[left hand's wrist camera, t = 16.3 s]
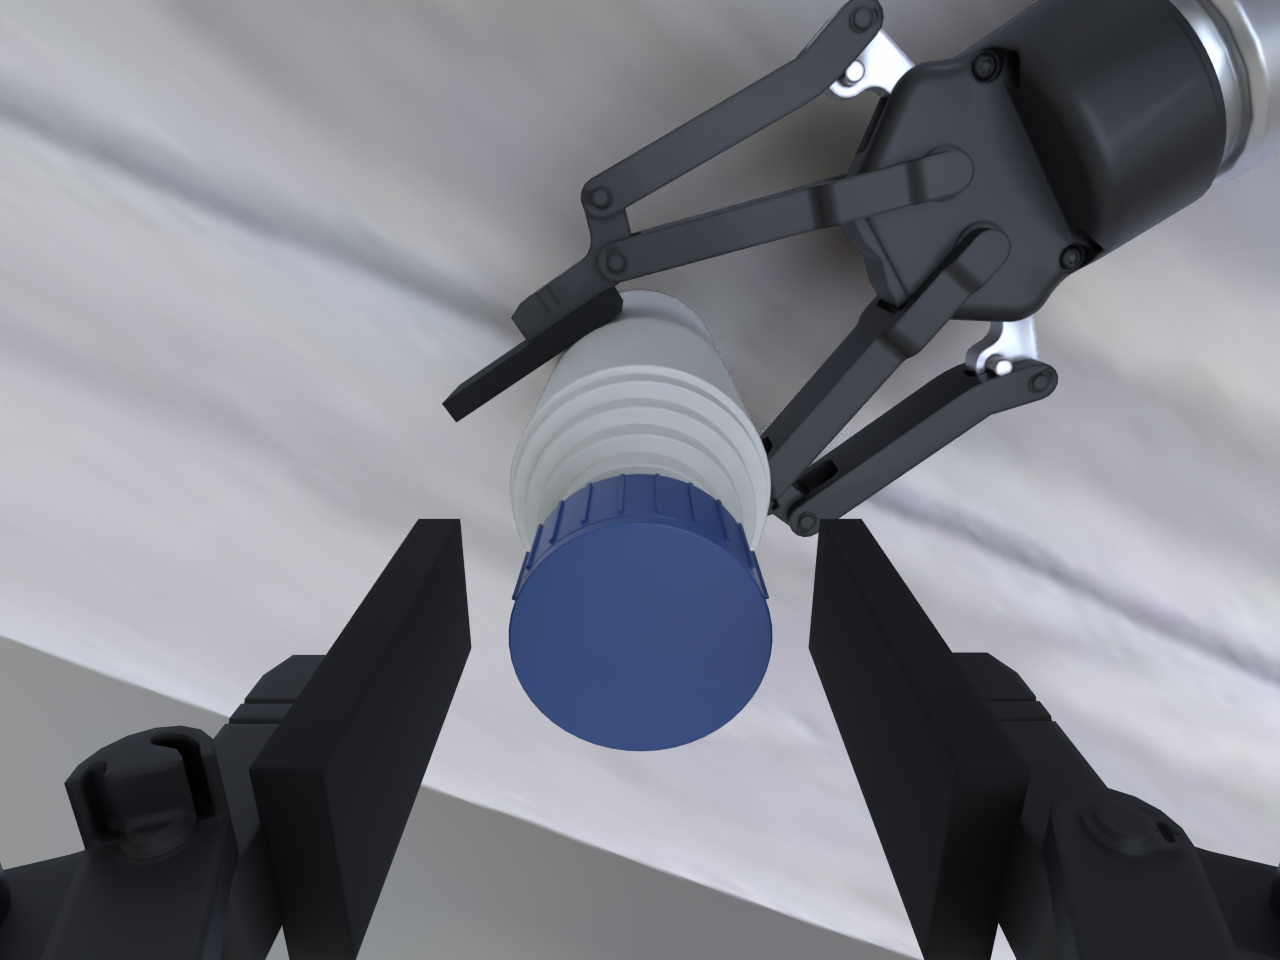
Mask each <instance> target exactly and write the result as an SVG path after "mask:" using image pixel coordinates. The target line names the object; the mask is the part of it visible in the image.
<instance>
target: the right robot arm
mask: <svg viewBox="0 0 1280 960" xmlns="http://www.w3.org/2000/svg"><path fill="white" fill-rule="evenodd" d="M883 19H884V16H883V9H882V7H881V5H880V3H879V1H878V0H850V1H848V2H847V3H846V4H845V5H844V6H843V7H842V8H841V9H840V10H838V11H837V12H836V13H835V14H834V15H833V16H832V17H831V18H830V19H829V20H828V21H827V22H826V23H825V24H824V25H823V26H822V28H821V29H820V30H819V31H818V32H817V34H816V35H815V36H814V37H813V38H812V39H811V41H810V42H809V43H808V44H807V45H806V46H805V48H804V49H803V50H802V51H801V52H800V54H799V55H798V56H797V57H796V58H795V59H794V60H792V61H790V62H789V63H787V64H785V65H784V66H782V67H780V68H779V69H777V70H775V71H773V72H772V73H770V74H768V75H767V76H765V77H763V78H762V79H760V80H758V81H756V82H755V83H753V84H751V85H750V86H748V87H746V88H745V89H743V90H741V91H739V92H738V93H736V94H734V95H733V96H731V97H729V98H728V99H726V100H724V101H722V102H721V103H719V104H717V105H716V106H714V107H712V108H710V109H709V110H707V111H705V112H704V113H702V114H700V115H699V116H697V117H695V118H693V119H692V120H690V121H688V122H687V123H685V124H683V125H682V126H680V127H678V128H676V129H675V130H673V131H671V132H670V133H668V134H666V135H665V136H663V137H661V138H659V139H658V140H656V141H654V142H653V143H651V144H649V145H648V146H646V147H644V148H642V149H641V150H639V151H637V152H636V153H634V154H632V155H630V156H629V157H627V158H625V159H624V160H622V161H620V162H619V163H617V164H615V165H613V166H612V167H610V168H608V169H607V170H605V171H603V172H602V173H600V174H598V175H596V176H595V177H593V178H591V179H590V180H589V181H588V182H587V183H586V184H585V185H584V187H583V189H582V191H581V202H582V205H583V208H584V210H585V214H586V218H587V222H588V227H589V231H590V235H591V246H590V249H589V252H588V254H587V255H586V257H584V258H583V259H582V260H581V261H579V262H578V263H576V264H575V265H573V266H572V267H570V268H569V269H568V270H566V271H565V272H563V273H562V274H560V275H559V276H557V277H556V278H555V279H553V280H552V281H550V282H549V283H547V284H546V285H545V286H543V287H542V288H540V289H539V290H537V291H536V292H534V293H533V294H532V295H530V296H529V297H527V298H526V299H525V300H524V301H523V302H522V303H520V305H519V306H518V308H517V310H516V311H515V313H514V314H513V316H512V317H511V318H512V320H513V321H514V323H515V324H516V325H517V327H518V328H519V330H520V331H521V333H522V334H523V335H524V337H525V338H526V340H525V341H523V342H522V343H520V344H519V345H517V346H516V347H514V348H513V349H512V350H510V351H509V352H507V353H506V354H504V355H503V356H501V357H500V358H498V359H497V360H495V361H494V362H492V363H491V364H490V365H488V366H487V367H485V368H484V369H482V370H481V371H479V372H478V373H476V374H475V375H473V376H472V377H470V378H469V379H468V380H466V381H465V382H463V383H462V384H460V385H459V386H458V387H457V388H456V389H455V391H454V392H453V393H452V394H451V395H450V396H449V397H448V398H447V399H446V400H445V401H444V402H443V403H442V404H443V406H444V407H445V408H446V410H447V411H448V412H449V413H450V415H451V416H452V417H453V419H454V420H455V421H456V422H458V421H459V420H461V419H462V418H464V417H465V416H467V415H468V414H470V413H471V412H473V411H474V410H476V409H477V408H479V407H480V406H482V405H483V404H485V403H486V402H488V401H489V400H491V399H492V398H494V397H495V396H497V395H498V394H500V393H501V392H502V391H504V390H505V389H507V388H508V387H510V386H511V385H513V384H514V383H516V382H517V381H519V380H520V379H522V378H523V377H525V376H526V375H528V374H529V373H531V372H532V371H534V370H535V369H537V368H538V367H540V366H541V365H543V364H544V363H546V362H547V361H549V360H550V359H552V358H553V357H555V356H556V355H558V354H559V353H561V352H562V351H564V350H565V349H567V348H568V347H570V346H571V345H573V344H574V343H576V342H577V341H578V340H580V339H581V338H583V337H584V336H586V335H587V334H589V333H590V332H592V331H593V330H595V329H596V328H598V327H599V326H601V325H602V324H604V323H605V322H607V321H608V320H610V319H611V318H613V317H614V316H616V315H617V314H619V313H620V312H622V307H623V299H622V297H621V296H620V294H619V293H618V291H617V289H616V288H615V286H616V285H617V284H619V283H620V282H623V281H627V280H631V279H634V278H638V277H642V276H645V275H649V274H653V273H657V272H660V271H664V270H668V269H671V268H675V267H679V266H682V265H686V264H690V263H694V262H697V261H701V260H705V259H708V258H712V257H716V256H720V255H723V254H727V253H731V252H734V251H738V250H742V249H745V248H749V247H753V246H757V245H760V244H764V243H768V242H771V241H775V240H779V239H782V238H786V237H790V236H794V235H797V234H801V233H805V232H808V231H812V230H816V229H821V228H827V227H832V226H837V225H840V227H841V229H842V231H843V232H844V234H845V236H846V238H847V240H848V241H849V242H850V243H851V244H852V245H853V246H854V247H855V248H856V249H857V250H858V251H859V252H860V253H861V254H862V255H863V256H864V258H865V263H866V267H867V272H868V276H869V280H870V282H871V284H872V286H873V288H874V290H875V291H876V293H877V296H876V297H875V298H874V300H873V301H872V302H871V303H870V304H869V305H868V307H867V308H866V309H865V310H864V311H863V313H862V314H861V316H860V318H859V322H858V324H857V326H856V327H855V328H854V329H853V330H852V332H851V333H850V334H849V335H848V336H847V337H846V338H845V340H844V341H843V342H842V343H841V344H840V345H839V347H838V348H837V349H836V350H835V351H834V352H833V353H832V355H831V356H830V357H829V358H828V359H827V360H826V361H825V363H824V364H823V365H822V366H821V367H820V368H819V370H818V371H817V372H816V373H815V374H814V375H813V376H812V378H811V379H810V380H809V381H808V382H807V383H806V385H805V386H804V387H803V388H802V389H801V390H800V391H799V393H798V394H797V395H796V396H795V397H794V398H793V399H792V401H791V402H790V403H789V404H788V405H787V406H786V408H785V409H784V410H783V411H782V412H781V413H780V414H779V416H778V417H777V418H776V419H775V420H774V421H773V423H772V424H771V425H770V426H769V427H768V428H767V429H766V431H765V432H764V433H763V434H762V435H761V436H760V438H761V441H762V444H763V446H764V449H765V452H766V455H767V459H768V464H769V468H770V480H771V492H770V503H769V508H768V513H767V515H772V514H774V515H775V516H777V517H778V518H779V519H781V520H782V521H783V522H785V523H786V524H788V525H789V526H790V527H791V529H792V531H793V532H794V533H795V534H796V535H799V536H802V537H809V536H812V535H814V534H817V533H818V532H819V523H820V519H839V518H840V517H842V516H843V515H845V514H846V513H847V512H849V511H850V510H852V509H853V508H855V507H856V506H858V505H859V504H861V503H862V502H864V501H865V500H867V499H868V498H869V497H871V496H872V495H874V494H875V493H877V492H878V491H880V490H881V489H883V488H884V487H886V486H887V485H889V484H890V483H891V482H893V481H894V480H896V479H897V478H899V477H900V476H902V475H903V474H905V473H906V472H908V471H909V470H911V469H912V468H913V467H915V466H916V465H918V464H919V463H921V462H922V461H924V460H925V459H927V458H928V457H930V456H931V455H933V454H934V453H936V452H937V451H938V450H940V449H941V448H943V447H944V446H946V445H947V444H949V443H950V442H952V441H953V440H955V439H956V438H958V437H959V436H960V435H962V434H963V433H965V432H966V431H968V430H969V429H971V428H972V427H974V426H975V425H977V424H978V423H980V422H981V421H982V420H984V419H985V418H987V417H988V416H990V415H992V414H995V413H999V412H1002V411H1005V410H1008V409H1012V408H1015V407H1018V406H1021V405H1025V404H1028V403H1031V402H1035V401H1038V400H1041V399H1043V398H1045V397H1047V396H1049V395H1050V394H1051V393H1052V392H1053V391H1054V390H1055V388H1056V386H1057V383H1058V375H1057V372H1056V370H1055V369H1054V368H1053V367H1052V366H1050V365H1048V364H1046V363H1043V362H1041V361H1040V357H1039V350H1038V344H1037V337H1036V331H1035V324H1034V318H1033V314H1034V313H1036V312H1037V311H1038V310H1039V309H1040V308H1041V307H1042V306H1043V305H1044V304H1045V302H1046V301H1047V299H1048V298H1049V296H1050V295H1051V293H1052V292H1053V291H1054V289H1055V288H1056V287H1057V286H1058V285H1059V284H1060V283H1061V282H1062V281H1063V280H1064V279H1065V278H1066V277H1067V276H1069V275H1070V274H1072V273H1073V272H1075V271H1077V270H1079V269H1081V268H1083V267H1085V266H1087V265H1089V264H1091V263H1092V262H1094V261H1096V260H1098V259H1100V258H1102V257H1103V256H1105V255H1107V254H1108V253H1110V252H1112V251H1113V250H1115V249H1117V248H1118V247H1120V246H1122V245H1123V244H1125V243H1127V242H1128V241H1130V240H1132V239H1133V238H1135V237H1137V236H1138V235H1140V234H1142V233H1143V232H1145V231H1147V230H1148V229H1150V228H1151V227H1153V226H1155V225H1156V224H1158V223H1160V222H1161V221H1163V220H1165V219H1166V218H1168V217H1170V216H1171V215H1173V214H1175V213H1176V212H1178V211H1180V210H1181V209H1183V208H1185V207H1186V206H1188V205H1190V204H1191V203H1193V202H1195V201H1196V200H1197V199H1199V198H1200V197H1201V196H1203V195H1204V193H1205V192H1206V191H1207V190H1208V189H1209V187H1210V186H1211V184H1220V183H1223V182H1226V181H1229V180H1232V179H1234V178H1236V177H1238V176H1239V175H1241V174H1242V173H1244V172H1246V171H1247V170H1249V169H1251V168H1252V167H1254V166H1255V165H1257V164H1259V163H1260V162H1262V161H1263V160H1265V159H1267V158H1268V157H1270V156H1272V155H1273V154H1275V153H1276V152H1278V151H1280V0H1039V1H1037V2H1036V3H1034V4H1033V5H1031V6H1030V7H1029V8H1027V9H1026V10H1024V11H1023V12H1021V13H1020V14H1018V15H1017V16H1015V17H1014V18H1012V19H1011V20H1009V21H1008V22H1006V23H1005V24H1003V25H1002V26H1001V27H999V28H998V29H996V30H995V31H993V32H992V33H990V34H989V35H987V36H986V37H984V38H983V39H981V40H980V41H978V42H977V43H976V44H974V45H973V46H971V47H970V48H968V49H967V50H965V51H964V52H962V53H961V54H959V55H957V56H956V57H954V58H952V59H948V60H943V61H930V62H925V63H921V64H918V65H916V66H915V65H914V64H913V63H912V62H911V60H910V59H909V58H908V57H907V56H906V55H905V54H904V53H903V51H902V50H901V49H900V48H899V47H898V46H897V45H896V44H895V43H894V41H893V40H892V39H891V38H890V37H889V36H888V35H887V34H886V32H885V31H884V30H883V29H882V23H883ZM863 90H870V91H873V92H876V93H877V94H878V95H879V96H881V98H880V100H879V103H878V105H877V107H876V109H875V112H874V114H873V116H872V119H871V121H870V123H869V125H868V128H867V130H866V132H865V135H864V137H863V139H862V141H861V144H860V146H859V148H858V151H857V153H856V155H855V157H854V160H853V162H852V164H851V167H850V169H849V171H848V173H847V174H843V175H839V176H836V177H832V178H829V179H825V180H821V181H818V182H814V183H810V184H807V185H804V186H800V187H798V188H795V189H791V190H787V191H784V192H780V193H777V194H773V195H769V196H766V197H762V198H758V199H755V200H751V201H748V202H744V203H740V204H737V205H733V206H729V207H726V208H722V209H718V210H715V211H711V212H708V213H704V214H700V215H697V216H693V217H689V218H686V219H682V220H679V221H675V222H671V223H668V224H664V225H660V226H657V227H653V228H649V229H646V230H642V231H639V232H635V233H631V230H630V226H629V221H628V217H627V213H626V207H628V206H630V205H632V204H633V203H635V202H637V201H639V200H640V199H642V198H644V197H646V196H647V195H649V194H651V193H653V192H654V191H656V190H658V189H659V188H661V187H663V186H665V185H666V184H668V183H670V182H672V181H673V180H675V179H677V178H679V177H680V176H682V175H684V174H686V173H687V172H689V171H691V170H692V169H694V168H696V167H698V166H699V165H701V164H703V163H705V162H706V161H708V160H710V159H712V158H713V157H715V156H717V155H719V154H720V153H722V152H724V151H725V150H727V149H729V148H731V147H732V146H734V145H736V144H738V143H739V142H741V141H743V140H745V139H746V138H748V137H750V136H752V135H753V134H755V133H757V132H759V131H760V130H762V129H764V128H765V127H767V126H769V125H771V124H772V123H774V122H776V121H778V120H779V119H781V118H783V117H785V116H786V115H788V114H790V113H792V112H793V111H795V110H797V109H798V108H800V107H802V106H804V105H805V104H807V103H808V102H810V101H811V100H813V99H815V98H816V97H818V96H819V95H820V94H822V93H823V92H824V93H825V95H826V96H828V97H829V98H830V99H832V100H835V101H843V100H846V99H849V98H851V97H853V96H855V95H857V94H858V93H860V92H861V91H863ZM949 319H950V320H972V321H991V327H990V330H989V332H988V334H987V335H986V336H985V337H984V338H983V339H982V340H981V341H979V342H977V343H976V344H974V345H973V346H972V347H971V348H969V349H968V351H967V353H966V358H965V363H963V364H960V365H958V366H956V367H953V368H951V369H949V370H947V371H945V372H944V373H942V374H940V375H939V376H937V377H936V378H934V379H933V380H931V381H930V382H928V383H927V384H926V385H924V386H923V387H921V388H920V389H918V390H917V391H916V392H914V393H913V394H911V395H910V396H908V397H907V398H906V399H904V400H903V401H901V402H900V403H899V404H897V405H896V406H894V407H893V408H891V409H890V410H889V411H887V412H886V413H884V414H883V415H882V416H880V417H879V418H877V419H876V420H874V421H873V422H872V423H870V424H869V425H867V426H866V427H865V428H863V429H862V430H860V431H859V432H857V433H856V434H855V435H853V436H852V437H850V438H849V439H848V440H846V441H845V442H843V443H842V444H840V445H839V446H838V447H836V448H835V449H833V450H832V451H831V452H829V453H828V454H826V455H825V456H823V457H822V458H821V459H819V460H818V461H816V462H815V463H814V464H812V465H811V466H809V465H810V464H811V463H812V462H813V461H814V460H815V459H816V457H817V456H818V455H819V454H820V453H821V452H822V451H823V450H824V449H825V447H826V446H827V445H828V444H829V443H830V442H831V441H832V440H833V439H834V437H835V436H836V435H837V434H838V433H839V432H840V431H841V430H842V429H843V428H844V426H845V425H846V424H847V423H848V422H849V421H850V420H851V419H852V418H853V416H854V415H855V414H856V413H857V412H858V411H859V410H860V409H861V408H862V407H863V405H864V404H865V403H866V402H867V401H868V400H869V399H870V398H871V397H872V395H873V394H874V393H875V392H876V391H877V390H878V389H879V388H880V387H881V385H882V384H883V383H884V382H885V381H886V380H887V379H888V378H889V377H890V376H891V374H892V373H893V372H894V371H895V370H896V369H897V368H898V367H899V366H900V364H901V363H902V362H903V361H905V360H906V359H907V358H910V357H912V356H914V355H916V354H917V353H919V352H920V351H921V350H922V349H923V348H924V347H925V346H926V345H927V344H928V342H929V341H930V340H931V339H932V338H933V337H934V336H935V335H936V334H937V332H938V331H939V330H940V329H941V328H942V327H943V326H944V325H945V324H946V323H947V321H948V320H949ZM808 466H809V467H808ZM807 467H808V468H807Z"/></svg>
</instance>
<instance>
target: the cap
mask: <svg viewBox="0 0 1280 960" xmlns="http://www.w3.org/2000/svg"><path fill="white" fill-rule="evenodd" d="M766 599H769V596H768V593H767V590H766V587H765V583H764V580H763V577H762V574H761V571H760V568H759V565H758V561H757V558H756V555H755V552H754V550H753V551H750V548H749V545H748V541H747V538H746V535H745V532H744V528H743V525H742V524H741V523H737V522H736V520H735V519H734V517H733V516H732V515H731V514H730V513H729V511H728V510H727V509H726V508H725V507H724V506H723V505H722V502H721V500H719V499H717V500H716V499H714V498H713V497H712V496H711V495H709V494H707V493H706V492H704V491H703V490H701V489H699V488H698V487H695V486H693V483H691V482H689V483H686V482H684V481H681V480H677V479H674V478H671V477H666V476H660V474H658V473H655V475H654V474H629V475H625V474H624V473H623V474H620V476H615V477H610V478H606V479H603V480H601V481H598V482H595V483H591V482H590V483H588V484H587V486H586V487H584V488H582V489H580V490H578V491H577V492H575V493H574V494H572V495H571V496H569V497H568V498H566V499H565V500H564V501H563V500H560V501H559V503H558V506H557V507H556V508H555V509H554V510H553V511H552V513H551V514H550V515H549V516H548V517H547V518H546V520H545V521H544V523H543V524H539V525H538V527H537V531H536V534H535V537H534V540H533V544H532V547H531V550H530V552H526V555H525V558H524V562H523V565H522V568H521V571H520V574H519V577H518V581H517V584H516V587H515V590H514V593H513V597H512V600H515V603H514V607H513V610H512V613H511V618H510V625H509V648H510V654H511V660H512V663H513V666H514V669H515V673H516V675H517V677H518V679H519V681H520V683H521V685H522V687H523V689H524V691H525V692H526V694H527V695H528V697H529V698H530V700H531V701H532V702H533V703H534V704H535V706H536V707H537V708H538V709H539V710H540V711H541V712H542V713H543V714H544V715H545V716H546V717H547V718H549V719H550V720H551V721H552V722H553V723H555V724H556V725H558V726H559V727H561V728H562V729H564V730H565V731H567V732H569V733H570V734H572V735H574V736H576V737H578V738H580V739H583V740H585V741H588V742H591V743H593V744H596V745H600V746H604V747H608V748H612V749H619V750H626V751H654V750H663V749H668V748H674V747H678V746H681V745H684V744H688V743H691V742H693V741H696V740H698V739H701V738H703V737H705V736H707V735H709V734H711V733H712V732H714V731H716V730H718V729H719V728H721V727H722V726H723V725H725V724H726V723H728V722H729V721H730V720H732V719H733V718H734V717H735V716H736V715H737V714H738V713H739V712H740V711H741V710H742V709H743V708H744V707H745V706H746V704H747V703H748V702H749V701H750V700H751V698H752V697H753V695H754V694H755V692H756V691H757V689H758V687H759V686H760V684H761V682H762V679H763V677H764V675H765V673H766V670H767V667H768V663H769V660H770V656H771V648H772V624H771V618H770V613H769V609H768V606H767V602H766Z"/></svg>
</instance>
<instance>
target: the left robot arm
mask: <svg viewBox="0 0 1280 960" xmlns="http://www.w3.org/2000/svg"><path fill="white" fill-rule="evenodd" d="M470 650H471V638H470V627H469V615H468V604H467V592H466V581H465V569H464V558H463V546H462V535H461V523H460V519H418V521H417V522H416V524H415V525H414V526H413V528H412V529H411V531H410V532H409V534H408V535H407V537H406V538H405V540H404V541H403V543H402V544H401V546H400V547H399V549H398V550H397V551H396V553H395V554H394V556H393V557H392V559H391V560H390V562H389V563H388V565H387V566H386V568H385V569H384V571H383V572H382V574H381V575H380V576H379V578H378V579H377V581H376V582H375V584H374V585H373V587H372V588H371V590H370V591H369V593H368V594H367V596H366V597H365V599H364V600H363V601H362V603H361V604H360V606H359V607H358V609H357V610H356V612H355V613H354V615H353V616H352V618H351V619H350V621H349V622H348V624H347V625H346V627H345V628H344V629H343V631H342V632H341V634H340V635H339V637H338V638H337V640H336V641H335V643H334V644H333V646H332V647H331V649H330V650H329V652H328V653H327V654H326V655H292V656H291V657H289V658H288V659H287V660H285V661H284V662H282V663H281V664H279V665H278V666H276V667H275V668H273V669H272V670H270V671H269V672H267V673H266V674H264V675H263V676H262V678H261V679H260V680H259V681H258V683H257V684H256V685H255V687H254V688H253V689H252V690H251V692H250V693H249V694H248V695H247V697H246V698H245V702H244V704H240V706H239V707H238V708H237V710H236V711H235V712H234V713H233V715H232V716H231V717H230V719H229V724H225V725H224V726H223V727H222V729H221V730H220V731H219V733H218V734H217V735H216V736H215V738H214V739H212V738H211V737H210V736H209V735H207V734H206V733H205V732H204V731H202V730H201V729H196V728H190V727H186V726H171V727H160V728H154V729H150V730H147V731H143V732H139V733H136V734H132V735H129V736H126V737H124V738H122V739H120V740H118V741H116V742H114V743H112V744H109V745H107V746H106V747H103V748H101V749H100V750H98V751H97V752H96V753H94V754H93V755H92V756H90V757H89V758H87V759H86V760H85V761H83V762H82V763H81V764H79V765H78V766H77V768H76V769H75V770H74V771H73V773H72V774H71V775H70V777H69V778H68V779H67V780H66V782H65V783H64V784H65V787H66V790H67V793H68V796H69V799H70V803H71V806H72V809H73V812H74V815H75V818H76V821H77V825H78V827H79V831H80V834H81V837H82V840H83V843H84V846H85V850H84V851H81V852H77V853H74V854H71V855H66V856H62V857H58V858H54V859H49V860H45V861H41V862H36V863H32V864H28V865H23V866H19V867H15V868H11V869H6V870H3V869H2V866H1V863H0V960H265V959H266V957H267V955H268V953H269V951H270V949H271V947H272V945H273V942H274V941H275V939H276V936H277V934H278V932H279V930H280V928H281V926H282V927H283V931H284V936H285V940H286V945H287V950H288V955H289V959H290V960H356V958H357V955H358V952H359V949H360V947H361V944H362V941H363V938H364V936H365V933H366V931H367V928H368V925H369V923H370V920H371V917H372V914H373V911H374V909H375V906H376V904H377V901H378V898H379V895H380V893H381V890H382V887H383V885H384V882H385V879H386V877H387V874H388V871H389V868H390V866H391V863H392V860H393V858H394V855H395V852H396V850H397V847H398V844H399V842H400V839H401V836H402V834H403V831H404V828H405V825H406V823H407V820H408V817H409V815H410V812H411V809H412V807H413V804H414V801H415V799H416V796H417V793H418V790H419V788H420V785H421V782H422V780H423V777H424V774H425V772H426V769H427V766H428V763H429V761H430V758H431V755H432V753H433V750H434V747H435V745H436V742H437V739H438V737H439V734H440V731H441V728H442V726H443V723H444V720H445V718H446V715H447V712H448V710H449V707H450V704H451V701H452V699H453V696H454V693H455V691H456V688H457V685H458V683H459V680H460V677H461V675H462V672H463V669H464V666H465V664H466V661H467V658H468V656H469V653H470ZM809 650H810V653H811V656H812V658H813V661H814V664H815V666H816V669H817V672H818V675H819V677H820V680H821V683H822V685H823V688H824V691H825V693H826V696H827V699H828V701H829V704H830V707H831V710H832V712H833V715H834V718H835V720H836V723H837V726H838V728H839V731H840V734H841V737H842V739H843V742H844V745H845V747H846V750H847V753H848V755H849V758H850V761H851V763H852V766H853V769H854V772H855V774H856V777H857V780H858V782H859V785H860V788H861V790H862V793H863V796H864V799H865V801H866V804H867V807H868V809H869V812H870V815H871V817H872V820H873V823H874V825H875V828H876V831H877V834H878V836H879V839H880V842H881V844H882V847H883V850H884V852H885V855H886V858H887V861H888V863H889V866H890V869H891V871H892V874H893V877H894V879H895V882H896V885H897V887H898V890H899V893H900V896H901V898H902V901H903V904H904V906H905V909H906V912H907V914H908V917H909V920H910V923H911V925H912V928H913V931H914V933H915V936H916V939H917V941H918V944H919V947H920V949H921V952H922V955H923V958H924V960H990V959H991V955H992V950H993V945H994V941H995V936H996V931H997V927H998V922H999V924H1000V926H1001V928H1002V931H1003V933H1004V935H1005V937H1006V939H1007V941H1008V943H1009V945H1010V947H1011V949H1012V951H1013V953H1014V955H1015V957H1016V960H1280V863H1279V866H1278V867H1276V866H1271V865H1267V864H1263V863H1258V862H1254V861H1250V860H1245V859H1241V858H1237V857H1232V856H1228V855H1224V854H1219V853H1215V852H1211V851H1207V850H1204V849H1201V848H1197V847H1194V845H1193V844H1192V842H1191V841H1190V839H1189V838H1188V836H1187V835H1186V833H1185V832H1184V830H1183V829H1182V828H1181V827H1180V826H1179V825H1178V824H1176V823H1175V822H1174V821H1173V820H1172V819H1171V818H1169V817H1168V816H1167V815H1166V814H1165V813H1163V812H1162V811H1161V810H1159V809H1157V808H1155V807H1154V806H1152V805H1150V804H1148V803H1146V802H1144V801H1142V800H1141V799H1139V798H1137V797H1135V796H1132V795H1128V794H1125V793H1122V792H1119V791H1116V790H1113V789H1110V788H1107V786H1106V785H1105V784H1104V782H1103V781H1102V780H1101V779H1100V777H1099V776H1098V775H1097V774H1096V772H1095V771H1094V770H1093V769H1092V767H1091V766H1090V765H1089V763H1088V762H1087V761H1086V760H1085V758H1084V757H1083V756H1082V755H1081V753H1080V752H1079V751H1078V749H1077V748H1076V747H1075V746H1074V744H1073V743H1072V742H1071V741H1070V739H1069V738H1068V737H1067V735H1066V734H1065V733H1064V732H1063V730H1062V729H1061V728H1060V727H1059V725H1058V724H1057V723H1056V721H1052V719H1051V715H1050V714H1049V713H1048V711H1047V710H1046V709H1045V708H1044V706H1043V705H1042V704H1041V702H1040V701H1036V696H1035V695H1034V694H1033V692H1032V691H1031V690H1030V688H1029V687H1028V686H1027V685H1026V683H1025V682H1024V681H1023V680H1022V678H1021V677H1020V676H1019V674H1018V673H1017V672H1015V671H1014V670H1012V669H1011V668H1009V667H1008V666H1006V665H1005V664H1003V663H1002V662H1000V661H999V660H998V659H996V658H995V657H993V656H992V655H990V654H989V653H952V652H951V650H950V649H949V647H948V646H947V644H946V643H945V641H944V640H943V638H942V637H941V635H940V634H939V632H938V631H937V629H936V628H935V627H934V625H933V624H932V622H931V621H930V619H929V618H928V616H927V615H926V613H925V612H924V610H923V609H922V607H921V606H920V604H919V603H918V601H917V600H916V599H915V597H914V596H913V594H912V593H911V591H910V590H909V588H908V587H907V585H906V584H905V582H904V581H903V579H902V578H901V576H900V575H899V574H898V572H897V571H896V569H895V568H894V566H893V565H892V563H891V562H890V560H889V559H888V557H887V556H886V554H885V553H884V551H883V550H882V549H881V547H880V546H879V544H878V543H877V541H876V540H875V538H874V537H873V535H872V534H871V532H870V531H869V529H868V528H867V526H866V525H865V524H864V522H863V521H862V519H820V523H819V535H818V546H817V558H816V569H815V581H814V592H813V604H812V615H811V627H810V638H809Z"/></svg>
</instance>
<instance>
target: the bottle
mask: <svg viewBox="0 0 1280 960" xmlns="http://www.w3.org/2000/svg"><path fill="white" fill-rule="evenodd" d="M619 294H620V296H621V297H622V299H623V307H622V312H620V313H619V314H617V315H616V316H614V317H613V318H611V319H610V320H608V321H607V322H605V323H604V324H602V325H601V326H599V327H598V328H596V329H595V330H593V331H592V332H590V333H589V334H587V335H586V336H584V337H583V338H581V339H580V340H578V341H577V342H576V343H574V344H573V345H571V346H570V347H568V348H567V349H565V350H564V351H563V352H562V354H561V356H560V358H559V360H558V362H557V364H556V366H555V368H554V370H553V372H552V374H551V376H550V378H549V381H548V383H547V385H546V387H545V389H544V391H543V393H542V395H541V397H540V399H539V401H538V403H537V405H536V407H535V409H534V411H533V413H532V415H531V417H530V419H529V421H528V423H527V426H526V428H525V430H524V432H523V434H522V436H521V438H520V440H519V443H518V446H517V448H516V451H515V454H514V458H513V463H512V467H511V477H510V495H511V504H512V509H513V514H514V518H515V523H516V528H517V531H518V534H519V536H520V539H521V542H522V544H523V546H524V548H525V550H526V552H530V550H531V547H532V544H533V540H534V537H535V534H536V531H537V527H538V525H539V524H543V523H544V521H545V520H546V518H547V517H548V516H549V515H550V514H551V513H552V511H553V510H554V509H555V508H556V507H557V506H558V503H559V501H560V500H563V501H564V500H565V499H566V498H568V497H569V496H571V495H572V494H574V493H575V492H577V491H578V490H580V489H582V488H584V487H586V486H587V484H588V483H590V482H591V483H595V482H598V481H601V480H603V479H606V478H610V477H615V476H620V474H623V473H624V474H625V475H629V474H654V475H655V473H658V474H660V476H666V477H671V478H674V479H677V480H681V481H684V482H686V483H689V482H691V483H693V486H695V487H698V488H699V489H701V490H703V491H704V492H706V493H707V494H709V495H711V496H712V497H713V498H714V499H716V500H717V499H719V500H721V502H722V505H723V506H724V507H725V508H726V509H727V510H728V511H729V513H730V514H731V515H732V516H733V517H734V519H735V520H736V522H737V523H741V524H742V525H743V528H744V532H745V535H746V538H747V541H748V545H749V548H750V551H753V550H754V552H755V550H756V548H757V546H758V544H759V542H760V539H761V536H762V533H763V530H764V527H765V522H766V517H767V513H768V508H769V503H770V492H771V480H770V468H769V464H768V459H767V455H766V452H765V449H764V446H763V444H762V441H761V438H760V436H759V434H758V432H757V430H756V428H755V426H754V424H753V422H752V420H751V418H750V416H749V414H748V412H747V410H746V408H745V406H744V404H743V402H742V400H741V397H740V395H739V393H738V391H737V389H736V387H735V385H734V383H733V381H732V379H731V377H730V375H729V373H728V371H727V369H726V367H725V365H724V363H723V361H722V359H721V357H720V355H719V353H718V351H717V349H716V347H715V345H714V343H713V341H712V339H711V336H710V334H709V333H708V331H707V329H706V327H705V325H704V324H703V322H702V321H701V320H700V318H699V317H698V316H697V315H696V314H695V313H694V312H693V311H692V310H691V309H690V308H689V307H687V306H686V305H685V304H684V303H682V302H680V301H678V300H677V299H675V298H673V297H671V296H668V295H666V294H662V293H659V292H654V291H647V290H634V291H626V292H622V293H619Z"/></svg>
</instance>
